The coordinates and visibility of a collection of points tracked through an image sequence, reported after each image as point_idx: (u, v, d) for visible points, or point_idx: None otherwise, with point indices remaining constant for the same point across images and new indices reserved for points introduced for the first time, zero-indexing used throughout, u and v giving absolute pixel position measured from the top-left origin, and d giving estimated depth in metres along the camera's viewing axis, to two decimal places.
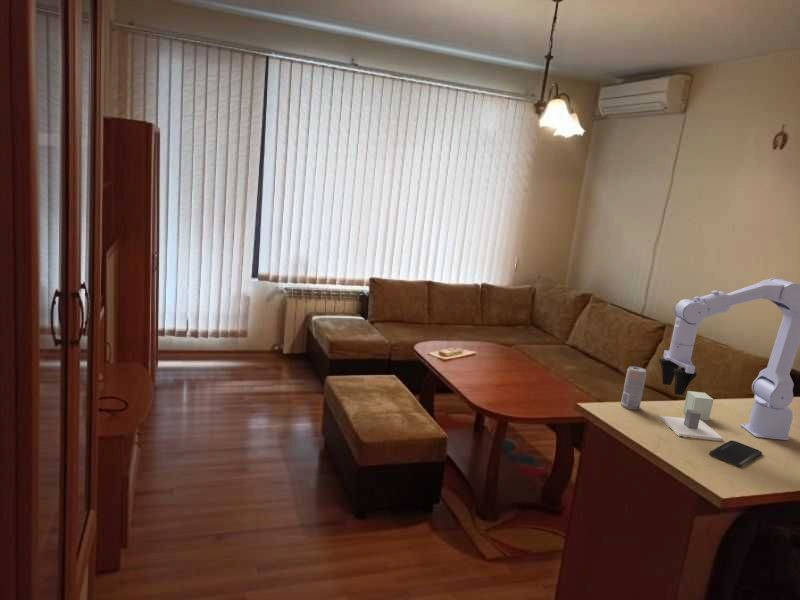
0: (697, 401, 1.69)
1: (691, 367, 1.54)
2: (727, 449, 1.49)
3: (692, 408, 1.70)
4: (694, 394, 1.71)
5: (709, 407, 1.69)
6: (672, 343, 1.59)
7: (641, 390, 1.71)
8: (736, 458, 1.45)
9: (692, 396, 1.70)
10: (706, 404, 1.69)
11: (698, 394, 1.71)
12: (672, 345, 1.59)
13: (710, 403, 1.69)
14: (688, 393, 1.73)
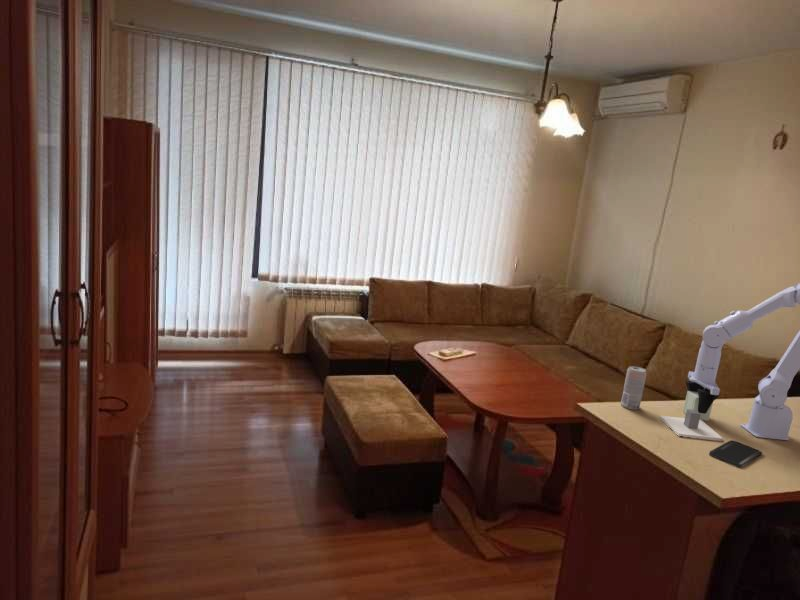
0: (697, 401, 1.69)
1: (716, 389, 1.63)
2: (727, 449, 1.49)
3: (692, 408, 1.70)
4: (694, 394, 1.71)
5: (709, 407, 1.69)
6: (697, 366, 1.69)
7: (641, 390, 1.71)
8: (736, 458, 1.45)
9: (692, 396, 1.70)
10: None
11: None
12: (697, 368, 1.69)
13: None
14: (688, 393, 1.73)
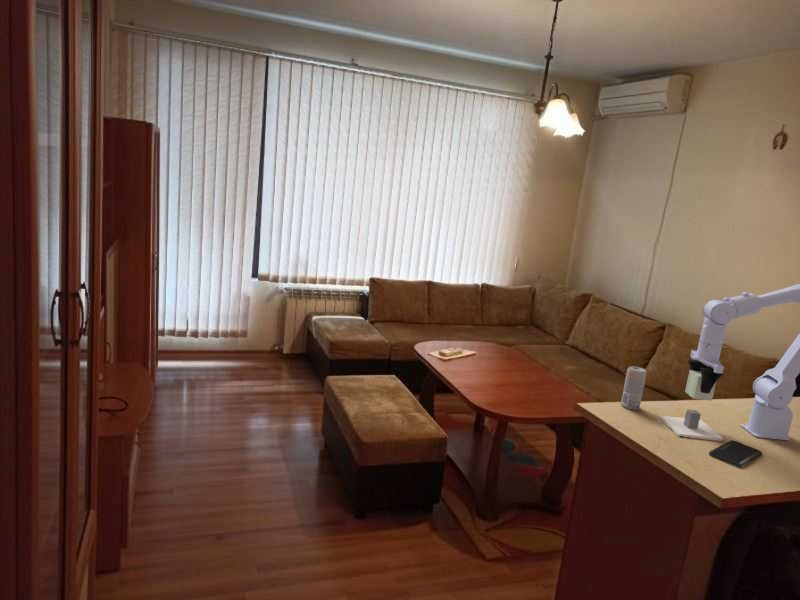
0: (700, 380, 1.61)
1: (720, 367, 1.55)
2: (727, 449, 1.49)
3: (694, 388, 1.62)
4: (697, 373, 1.63)
5: (712, 387, 1.61)
6: (700, 343, 1.61)
7: (641, 390, 1.71)
8: (736, 458, 1.45)
9: (694, 375, 1.63)
10: None
11: None
12: (700, 345, 1.61)
13: None
14: (690, 372, 1.65)
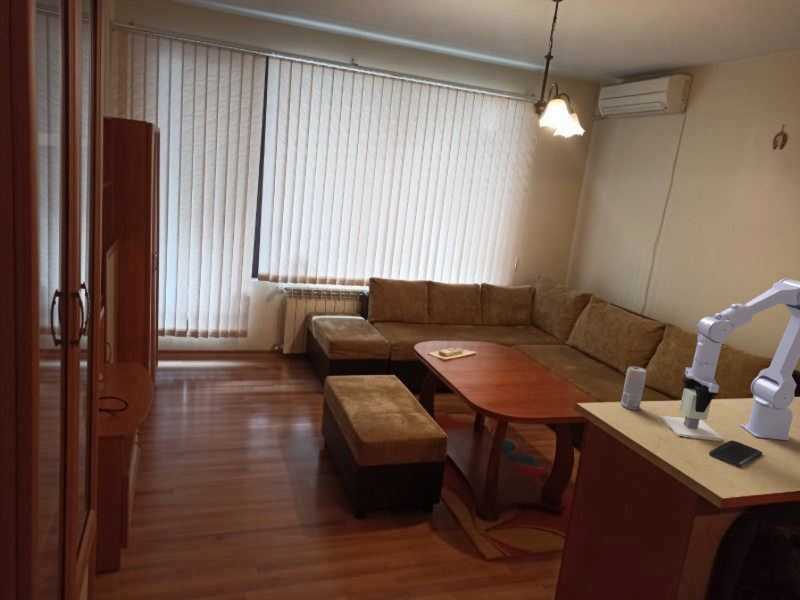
0: (694, 399, 1.57)
1: (715, 386, 1.51)
2: (727, 449, 1.49)
3: (689, 407, 1.58)
4: (691, 392, 1.59)
5: None
6: (695, 361, 1.57)
7: (641, 390, 1.71)
8: (736, 458, 1.45)
9: (689, 394, 1.59)
10: None
11: (695, 392, 1.59)
12: (695, 363, 1.57)
13: None
14: (685, 391, 1.61)
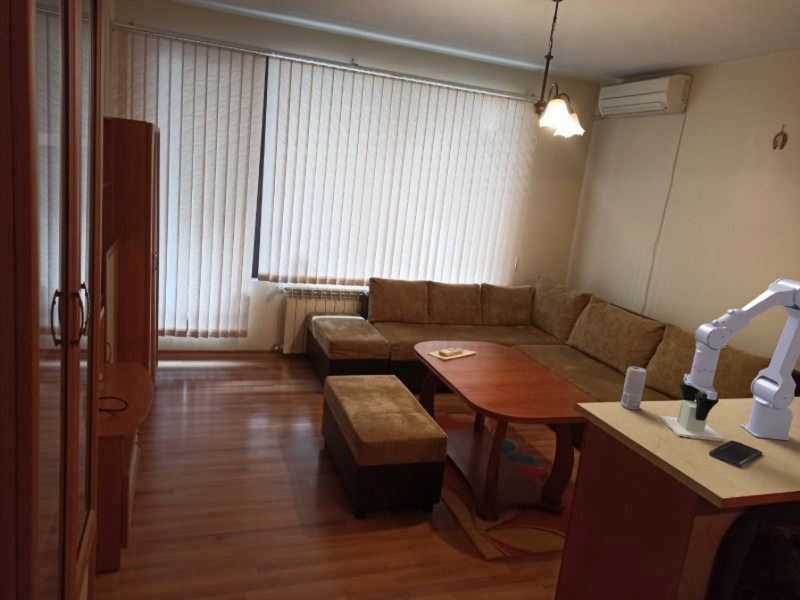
0: (692, 411, 1.58)
1: (713, 393, 1.52)
2: (727, 449, 1.49)
3: (686, 418, 1.59)
4: (689, 404, 1.60)
5: None
6: (693, 368, 1.57)
7: (641, 390, 1.71)
8: (736, 458, 1.45)
9: (686, 406, 1.59)
10: None
11: (693, 403, 1.60)
12: (693, 370, 1.57)
13: None
14: (682, 402, 1.62)
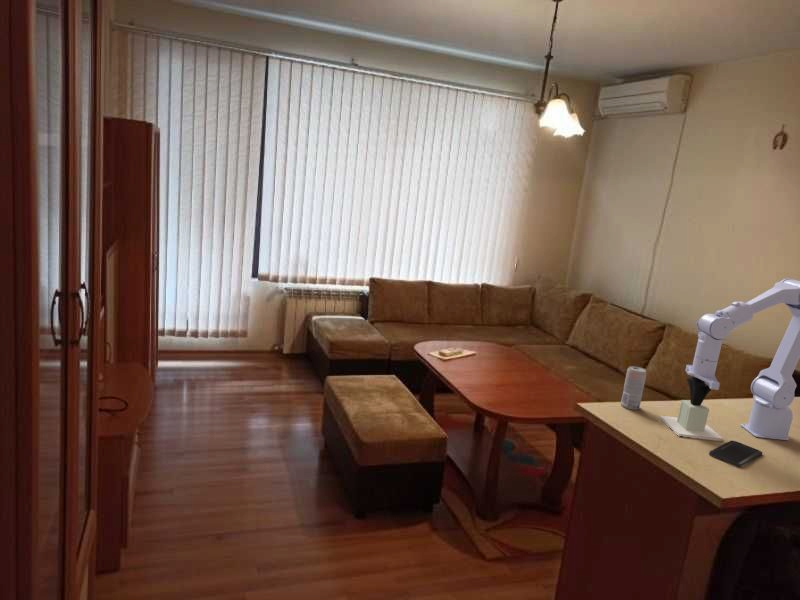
0: (692, 411, 1.58)
1: (716, 383, 1.51)
2: (727, 449, 1.49)
3: (686, 418, 1.59)
4: (689, 404, 1.60)
5: (704, 417, 1.58)
6: (695, 358, 1.57)
7: (641, 390, 1.71)
8: (736, 458, 1.45)
9: (686, 406, 1.59)
10: (701, 414, 1.58)
11: None
12: (695, 360, 1.57)
13: (706, 413, 1.58)
14: (682, 402, 1.62)
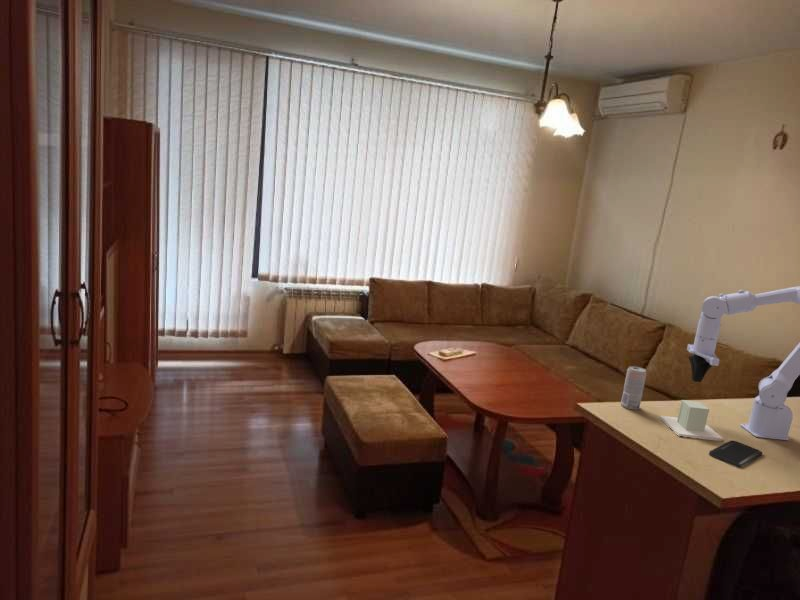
0: (692, 411, 1.58)
1: (716, 360, 1.62)
2: (727, 449, 1.49)
3: (686, 418, 1.59)
4: (689, 404, 1.60)
5: (704, 417, 1.58)
6: (697, 337, 1.68)
7: (641, 390, 1.71)
8: (736, 458, 1.45)
9: (686, 406, 1.59)
10: (701, 414, 1.58)
11: (693, 403, 1.60)
12: (697, 339, 1.68)
13: (706, 413, 1.58)
14: (682, 402, 1.62)
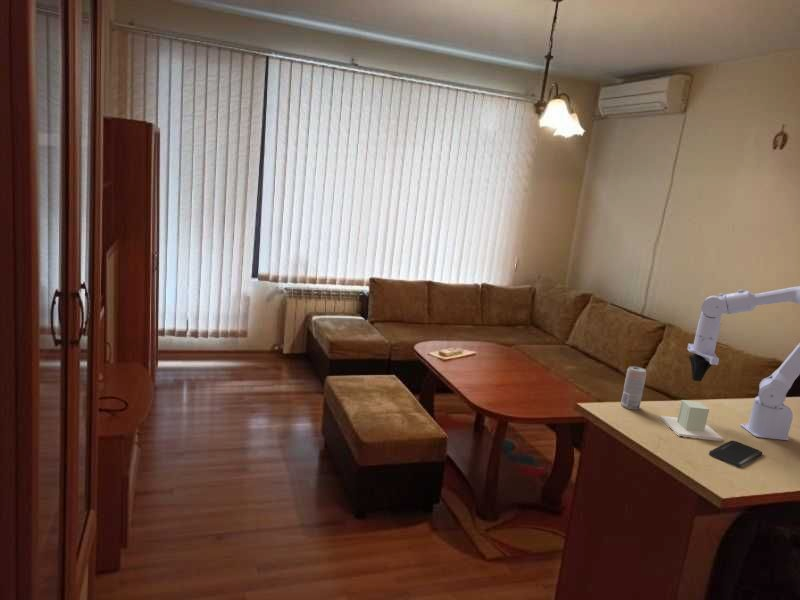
0: (692, 411, 1.58)
1: (715, 359, 1.63)
2: (727, 449, 1.49)
3: (686, 418, 1.59)
4: (689, 404, 1.60)
5: (704, 417, 1.58)
6: (697, 336, 1.69)
7: (641, 390, 1.71)
8: (736, 458, 1.45)
9: (686, 406, 1.59)
10: (701, 414, 1.58)
11: (693, 403, 1.60)
12: (697, 338, 1.69)
13: (706, 413, 1.58)
14: (682, 402, 1.62)
